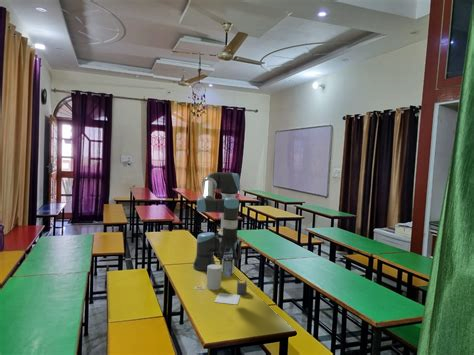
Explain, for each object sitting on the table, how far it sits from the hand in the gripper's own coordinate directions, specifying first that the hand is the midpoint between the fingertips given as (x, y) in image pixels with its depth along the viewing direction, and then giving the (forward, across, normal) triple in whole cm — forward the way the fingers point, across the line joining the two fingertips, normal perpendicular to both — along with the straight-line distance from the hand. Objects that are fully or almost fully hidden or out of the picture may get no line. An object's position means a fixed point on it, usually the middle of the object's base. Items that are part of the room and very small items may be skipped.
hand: (227, 271), depth 178 cm
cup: (+15, -10, +14) cm, 23 cm away
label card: (+15, -18, +10) cm, 25 cm away
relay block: (+15, +6, +10) cm, 19 cm away
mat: (+15, +1, 0) cm, 15 cm away
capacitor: (+2, 0, 0) cm, 2 cm away
